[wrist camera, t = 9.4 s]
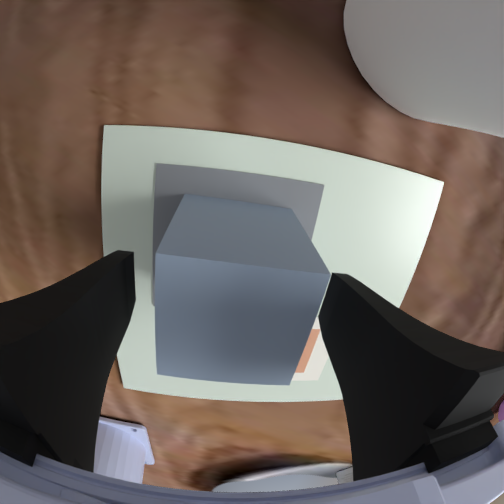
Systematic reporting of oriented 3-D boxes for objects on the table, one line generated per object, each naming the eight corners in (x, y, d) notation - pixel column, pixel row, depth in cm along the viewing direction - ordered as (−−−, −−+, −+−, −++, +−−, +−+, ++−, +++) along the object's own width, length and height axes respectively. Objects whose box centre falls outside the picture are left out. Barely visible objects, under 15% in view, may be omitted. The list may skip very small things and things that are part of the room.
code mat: (125, 384, 18) (123, 388, 17) (106, 125, 11) (103, 125, 10) (349, 395, 20) (350, 399, 19) (440, 180, 13) (445, 182, 13)
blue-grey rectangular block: (177, 286, 14) (156, 374, 9) (185, 193, 12) (155, 253, 7) (270, 297, 15) (289, 385, 10) (291, 208, 13) (330, 274, 8)
